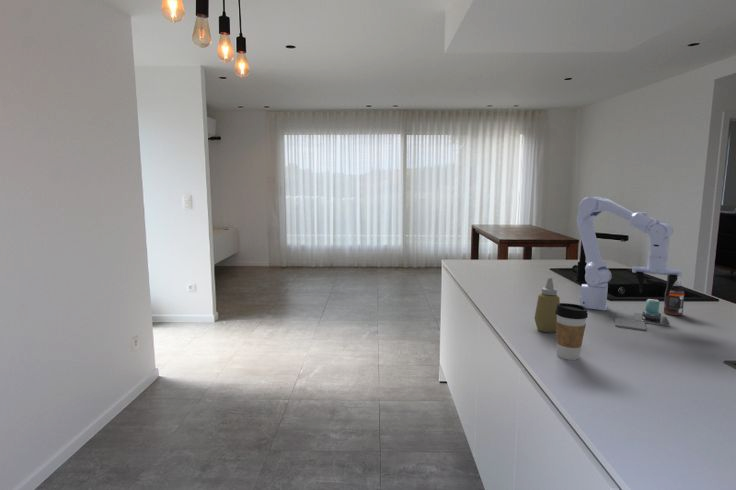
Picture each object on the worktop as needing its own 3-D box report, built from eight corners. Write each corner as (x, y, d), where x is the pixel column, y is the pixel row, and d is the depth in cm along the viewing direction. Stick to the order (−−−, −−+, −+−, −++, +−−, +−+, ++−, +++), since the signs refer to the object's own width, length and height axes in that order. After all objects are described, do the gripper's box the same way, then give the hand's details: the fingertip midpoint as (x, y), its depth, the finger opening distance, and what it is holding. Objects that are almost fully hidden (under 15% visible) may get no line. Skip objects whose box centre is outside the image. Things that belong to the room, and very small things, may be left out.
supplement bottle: (685, 316, 159) (688, 286, 158) (667, 315, 161) (670, 286, 159) (677, 311, 165) (680, 283, 164) (660, 311, 166) (662, 282, 165)
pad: (615, 326, 149) (615, 324, 148) (614, 319, 156) (615, 317, 156) (646, 331, 144) (646, 329, 144) (644, 323, 152) (644, 321, 152)
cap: (644, 314, 154) (645, 300, 154) (643, 310, 158) (644, 297, 158) (660, 316, 152) (661, 302, 151) (658, 312, 156) (660, 299, 155)
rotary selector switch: (635, 321, 154) (636, 313, 153) (634, 314, 162) (634, 306, 162) (669, 326, 149) (670, 318, 148) (665, 318, 158) (666, 310, 157)
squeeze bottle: (558, 327, 147) (562, 276, 145) (560, 335, 140) (564, 281, 137) (533, 324, 150) (536, 274, 147) (534, 332, 142) (537, 279, 140)
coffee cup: (546, 350, 127) (550, 301, 125) (573, 349, 128) (577, 301, 126) (561, 362, 119) (565, 310, 117) (590, 361, 120) (595, 309, 118)
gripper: (634, 256, 152) (630, 293, 154) (684, 260, 145) (680, 299, 147) (633, 253, 158) (629, 289, 160) (681, 257, 151) (677, 294, 153)
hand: (653, 293), depth 154 cm, fingers open, 7 cm apart
